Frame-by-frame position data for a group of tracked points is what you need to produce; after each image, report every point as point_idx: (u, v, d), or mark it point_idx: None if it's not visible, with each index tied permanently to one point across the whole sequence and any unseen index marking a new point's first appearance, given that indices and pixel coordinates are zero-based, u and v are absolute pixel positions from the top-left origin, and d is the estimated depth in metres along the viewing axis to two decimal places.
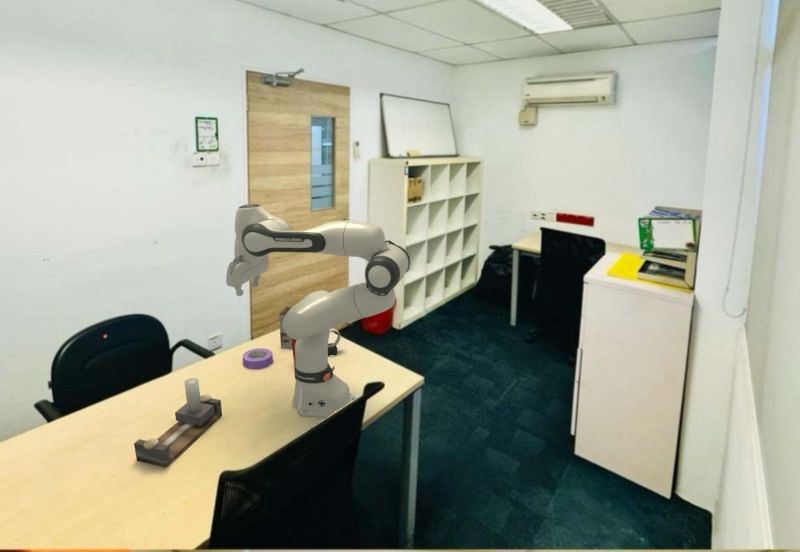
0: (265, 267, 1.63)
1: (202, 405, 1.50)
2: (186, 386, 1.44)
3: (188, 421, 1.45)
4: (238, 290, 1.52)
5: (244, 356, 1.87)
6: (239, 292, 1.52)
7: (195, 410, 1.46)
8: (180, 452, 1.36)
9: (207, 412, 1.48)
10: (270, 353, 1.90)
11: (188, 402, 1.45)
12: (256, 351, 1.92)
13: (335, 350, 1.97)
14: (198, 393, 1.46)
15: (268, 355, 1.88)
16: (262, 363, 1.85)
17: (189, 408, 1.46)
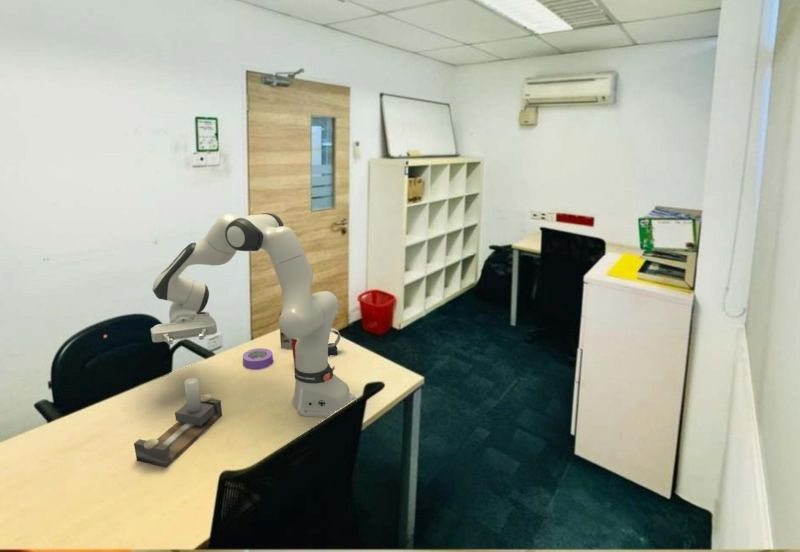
0: (210, 323, 1.61)
1: (202, 405, 1.50)
2: (186, 386, 1.44)
3: (188, 421, 1.45)
4: (166, 339, 1.52)
5: (244, 356, 1.87)
6: (167, 339, 1.51)
7: (195, 410, 1.46)
8: (180, 452, 1.36)
9: (207, 412, 1.48)
10: (270, 353, 1.90)
11: (188, 402, 1.45)
12: (256, 351, 1.92)
13: (335, 350, 1.97)
14: (198, 393, 1.46)
15: (268, 355, 1.88)
16: (262, 363, 1.85)
17: (189, 408, 1.46)
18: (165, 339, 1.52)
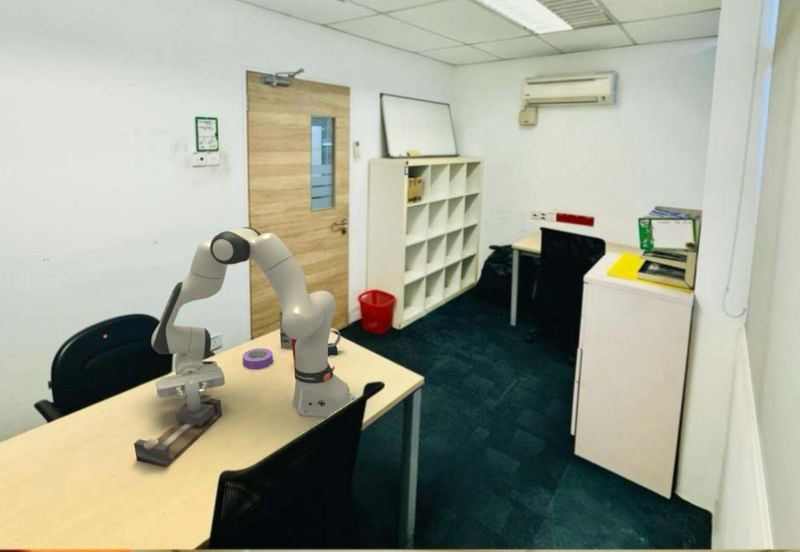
0: (217, 374, 1.54)
1: (202, 405, 1.50)
2: (186, 386, 1.44)
3: (188, 421, 1.45)
4: (179, 393, 1.46)
5: (244, 356, 1.87)
6: (180, 393, 1.45)
7: (195, 410, 1.46)
8: (180, 452, 1.36)
9: (207, 412, 1.48)
10: (270, 353, 1.90)
11: (188, 402, 1.45)
12: (256, 351, 1.92)
13: (335, 350, 1.97)
14: (198, 393, 1.46)
15: (268, 355, 1.88)
16: (262, 363, 1.85)
17: (189, 408, 1.46)
18: (178, 393, 1.46)
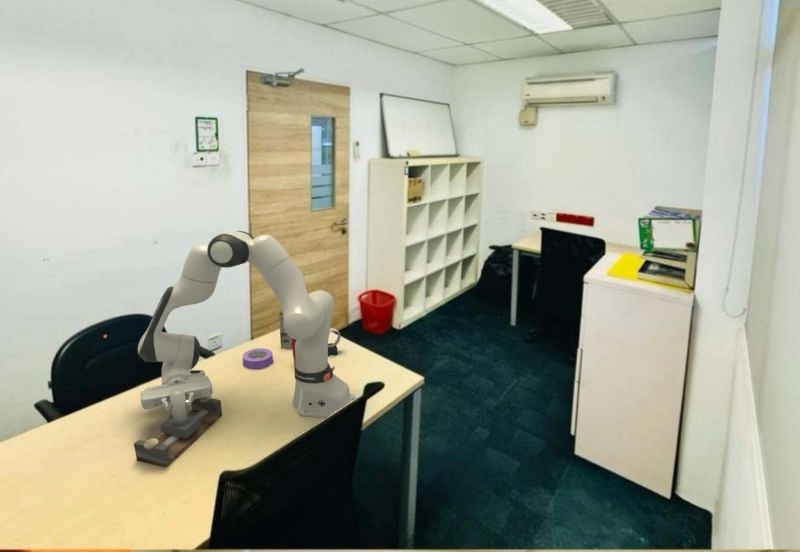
0: (205, 384, 1.48)
1: (189, 416, 1.44)
2: (171, 397, 1.38)
3: (174, 433, 1.39)
4: (164, 404, 1.40)
5: (244, 356, 1.87)
6: (165, 405, 1.39)
7: (181, 422, 1.40)
8: (180, 452, 1.36)
9: (194, 424, 1.42)
10: (270, 353, 1.90)
11: (174, 414, 1.39)
12: (256, 351, 1.92)
13: (335, 350, 1.97)
14: (184, 404, 1.40)
15: (268, 355, 1.88)
16: (262, 363, 1.85)
17: (175, 420, 1.40)
18: (163, 404, 1.40)
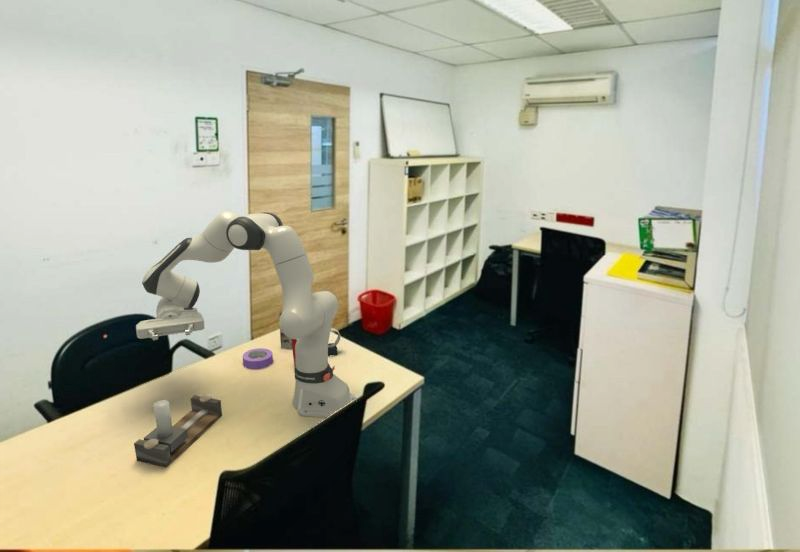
0: (197, 318, 1.56)
1: (174, 429, 1.38)
2: (155, 410, 1.32)
3: None
4: (151, 335, 1.47)
5: (244, 356, 1.87)
6: (152, 335, 1.46)
7: (166, 435, 1.34)
8: (180, 452, 1.36)
9: (179, 437, 1.36)
10: (270, 353, 1.90)
11: (158, 426, 1.33)
12: (256, 351, 1.92)
13: (335, 350, 1.97)
14: (169, 417, 1.34)
15: (268, 355, 1.88)
16: (262, 363, 1.85)
17: (159, 433, 1.34)
18: (150, 335, 1.47)
